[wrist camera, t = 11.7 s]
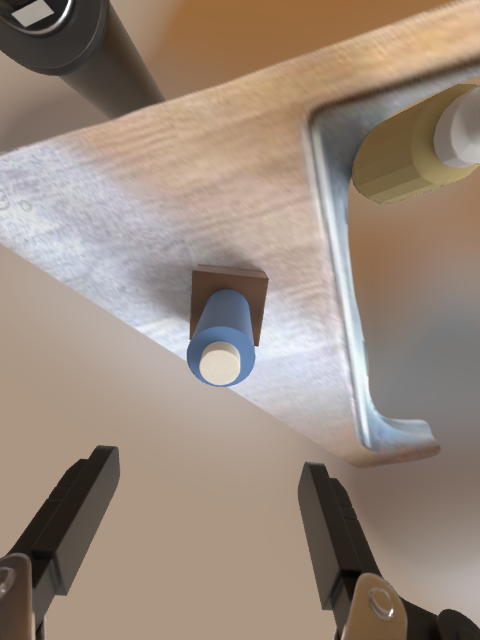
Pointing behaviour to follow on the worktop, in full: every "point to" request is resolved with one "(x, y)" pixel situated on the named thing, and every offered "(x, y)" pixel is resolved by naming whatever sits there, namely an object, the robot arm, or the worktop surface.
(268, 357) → the worktop surface
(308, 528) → the robot arm
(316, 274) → the worktop surface
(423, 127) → the squeeze bottle
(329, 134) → the worktop surface
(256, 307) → the walnut block
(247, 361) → the blue bottle
